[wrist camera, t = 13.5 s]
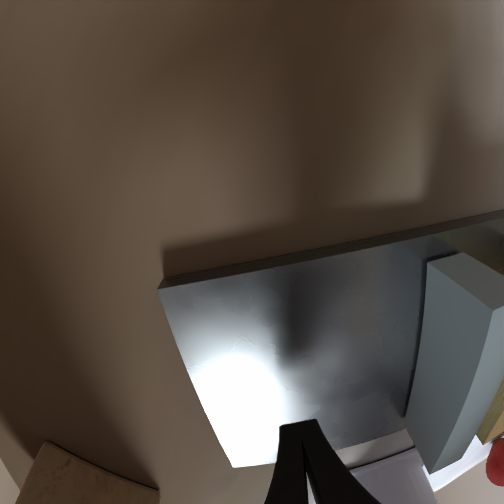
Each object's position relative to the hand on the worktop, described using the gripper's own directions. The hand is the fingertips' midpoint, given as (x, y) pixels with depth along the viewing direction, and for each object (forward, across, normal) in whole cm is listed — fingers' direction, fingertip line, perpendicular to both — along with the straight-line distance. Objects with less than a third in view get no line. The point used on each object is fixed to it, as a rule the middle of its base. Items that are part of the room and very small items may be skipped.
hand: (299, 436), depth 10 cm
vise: (+3, -5, 0) cm, 6 cm away
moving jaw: (+2, -7, 0) cm, 7 cm away
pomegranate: (+4, -22, +21) cm, 31 cm away
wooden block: (+4, +18, +12) cm, 22 cm away
